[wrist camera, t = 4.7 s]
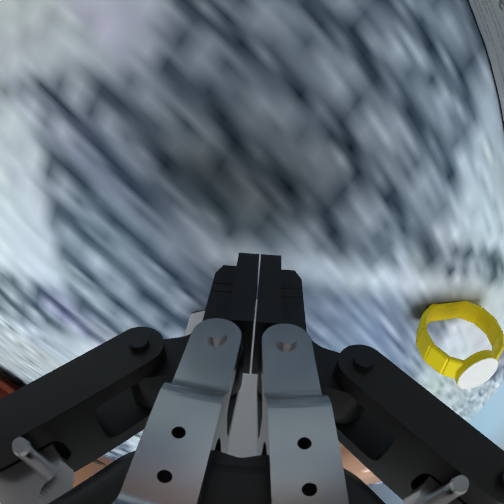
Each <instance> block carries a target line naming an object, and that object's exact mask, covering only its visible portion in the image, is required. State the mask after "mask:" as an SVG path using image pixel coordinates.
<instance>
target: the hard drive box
mask: <svg viewBox="0 0 504 504" xmlns="http://www.w3.org/2000/svg"><path fill="white" fill-rule="evenodd" d="M469 3H470V6H471V8H472V10H473V13H474V16H475V19H476V22H477V24H478V27H479V30H480V33H481V35H482V37H483V40H484V42H485V45H486V49H487V52H488V56H489V59H490V62H491V66H492V70H493V73H494V77H495V82H496V86H497V90H498V94H499V98H500V103H501V108H502V114H503V119H504V0H469Z"/></svg>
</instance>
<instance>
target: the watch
mask: <svg viewBox="0 0 504 504" xmlns="http://www.w3.org/2000/svg"><path fill="white" fill-rule="evenodd" d="M453 318H462V319H464V320H467V321H469V322H472V323H474V324H475V325H476V326H478V327H479V328H480V329H481V330H482V331H483V332H484V333H485V334H486V335H487V337H488V339H489V341H490V343H491V345H492V351H490V350H483V351H480V352H477V353H475V354H473V355H471V356H470V357H468V358H467V359H465V360H460V359H457V358H454V357H450V356H449V355H447V354H446V353H445V352H444V351H442V350H441V349H440V348H438V347H437V346H436V345H434V343H433V341H432V339H431V337H430V335H429V334H428V332H427V330H426V329H427V325H428V323H429V322H430V321H437V320H445V319H453ZM416 344H417V345H416V346H417V348H418V350H419V352H420V354H421V356H422V358H423V360H425V362H426V363H427V364H429V365H430V366H431V367H432V368H434V369H435V370H436V371H437V372H438V373H441V374H442V375H444V376H448V377H451V378H454V379H455V380H456V383H457V385H458V386H459V387H460V388H462V389H470V388H474V387H476V386H479V385H481V384H482V383H484V382H485V381H487V380H488V379H489V378H490V377H491V376H492V375H493V374H494V373H495V371H496V369H497V367H498V360H497V359H498V358H499V356H500V354H501V352H502V351H503V348H504V334H503V331H502V330H501V328H500V326H499V324H498V322H497V320H496V319H495V318H494V317H493V316H492V315H491V314H490V313H489V312H487V311H486V310H485V309H484V308H481V306H478V305H476V304H473V303H471V302H468V301H460V302H452V303H442V304H435V303H433V304H431V305H430V306H429V307H428V308H427V309H426V310H425V312H424V313H423V314H422V316H421V319H420V323H419V326H418V329H417V336H416Z"/></svg>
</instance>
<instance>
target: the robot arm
mask: <svg viewBox="0 0 504 504" xmlns="http://www.w3.org/2000/svg"><path fill="white" fill-rule="evenodd" d="M258 266H259V254H249V253H239V256H238V262H237V266H226V265H223V266H222V267H221V268H220V269H219V270H218V271H217V272H216V273H215V277H214V280H213V284H212V288H211V292H210V295H209V298H208V302H207V306H206V310H205V313H204V317H203V321H202V322H200V323H199V324H197V325H196V326H195V327H194V329H193V331H192V333H191V334H189V335H187V336H183V337H179V338H172V339H163V337H162V336H161V334H160V333H159V332H157V331H156V330H154V329H152V328H148V327H135V328H132V329H129V330H127V331H125V332H123V333H121V334H119V335H118V336H116V337H114V338H112V339H110V340H108V341H107V342H105V343H103V344H101V345H99V346H97V347H96V348H94V349H92V350H90V351H88V352H86V353H85V354H83V355H81V356H79V357H77V358H75V359H74V360H72V361H70V362H68V363H66V364H64V365H63V366H61V367H59V368H57V369H55V370H53V371H52V372H50V373H48V374H46V375H44V376H42V377H40V378H39V379H37V380H35V381H33V382H31V383H29V384H27V385H26V386H24V387H22V388H20V389H18V390H16V391H14V392H13V393H11V394H9V395H7V396H5V397H3V398H1V399H0V502H1V504H385V503H384V502H383V501H382V500H381V499H380V498H379V497H378V496H377V495H376V494H375V493H374V492H373V491H372V490H371V489H370V488H369V487H368V486H367V485H366V484H365V483H364V482H363V481H362V480H361V479H360V478H358V477H357V476H356V475H354V474H353V473H352V472H350V471H348V470H346V469H345V468H343V464H342V458H341V452H340V447H339V442H340V443H341V444H342V445H343V446H344V447H345V448H346V449H347V450H348V451H350V452H351V453H352V454H353V455H354V456H355V457H356V458H357V459H358V460H359V461H360V462H361V463H362V464H363V465H364V466H365V467H367V468H368V469H369V470H370V471H371V472H372V473H373V474H374V475H375V476H376V477H377V478H379V479H380V480H381V481H382V482H383V483H384V484H385V485H386V486H388V487H389V488H390V489H391V490H392V491H393V492H394V493H395V494H397V495H398V496H399V497H400V498H401V499H402V500H403V504H504V451H503V450H502V449H500V448H499V447H498V446H497V445H495V444H494V443H493V442H492V441H490V440H489V439H488V438H487V437H485V436H484V435H483V434H481V433H480V432H479V431H478V430H476V429H475V428H474V427H473V426H471V425H470V424H469V423H468V422H466V421H465V420H464V419H463V418H461V417H460V416H459V415H458V414H456V413H455V412H454V411H453V410H451V409H450V408H449V407H448V406H446V405H445V404H444V403H442V402H441V401H440V400H439V399H437V398H436V397H435V396H434V395H432V394H431V393H430V392H429V391H427V390H426V389H425V388H424V387H422V386H421V385H420V384H419V383H417V382H416V381H415V380H413V379H412V378H411V377H410V376H408V375H407V374H406V373H405V372H403V371H402V370H401V369H400V368H398V367H397V366H396V365H395V364H393V363H392V362H391V361H389V360H388V359H387V358H386V357H384V356H383V355H382V354H381V353H379V352H378V351H377V350H375V349H373V348H371V347H369V346H365V345H351V346H348V347H346V348H345V349H344V350H342V352H341V353H338V352H335V351H331V350H328V349H325V348H322V347H320V346H319V345H317V344H316V343H314V342H313V341H312V340H311V338H310V336H309V334H308V333H307V331H306V323H305V312H304V301H303V291H302V281H301V278H300V277H299V276H298V274H297V273H296V272H295V271H294V270H281V256H277V255H264V254H261V262H260V274H259V287H258V299H257V311H256V323H255V336H254V348H253V361H252V374H258V377H257V390H256V422H257V454H256V456H252V457H244V458H240V457H235V456H232V455H229V454H227V453H228V445H229V439H230V434H231V430H232V425H233V421H234V416H235V411H236V407H237V402H238V397H239V390H240V388H241V385H242V377H243V373H247V374H249V372H250V361H251V351H252V339H253V328H254V317H255V306H256V294H257V280H258ZM143 429H144V431H143V434H142V436H141V439H140V441H139V444H138V446H137V449H136V451H133V452H131V453H128V454H126V455H124V456H122V457H120V458H118V459H117V460H115V461H114V462H112V463H111V464H109V465H108V466H106V467H105V468H103V469H102V470H100V471H99V472H97V473H96V474H94V475H93V476H91V477H90V478H88V479H87V480H85V481H84V482H82V483H81V484H79V485H77V486H76V487H74V488H73V483H74V472H76V471H77V470H79V469H81V468H82V467H84V466H86V465H88V464H89V463H91V462H93V461H94V460H96V459H97V458H99V457H101V456H102V455H104V454H106V453H107V452H109V451H111V450H112V449H114V448H115V447H117V446H118V445H120V444H122V443H123V442H125V441H126V440H128V439H129V438H131V437H132V436H134V435H135V434H137V433H139V432H140V431H142V430H143ZM72 488H73V489H72Z"/></svg>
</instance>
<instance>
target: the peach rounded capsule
mask: <svg viewBox="0 0 504 504" xmlns="http://www.w3.org/2000/svg"><path fill="white" fill-rule="evenodd" d="M339 447H340V452H341V458H342V464H343V468H345V469H346V470H348V471H350V472H352V473H353V474H354V475H356V476H357V477H358V478H360V479H361V480H362V481H363V482H364V483H365V484H366V485H368V484H373V483H377V482H380V481H381V480H380V479H379V478H377V477H376V476H375V475H374V474H373V473H372V472H371V471H370V470H369V469H368V468H367V467H365V466H364V465H363V464H362V463H361V462H360V461H359V460H358V459H357V458H356V457H355V456H354V455H353V454H352V453H351V452H350V451H348V450H347V449H346V448H345V447H344V446H343V445H342V444H341V443H340V442H339Z"/></svg>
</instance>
